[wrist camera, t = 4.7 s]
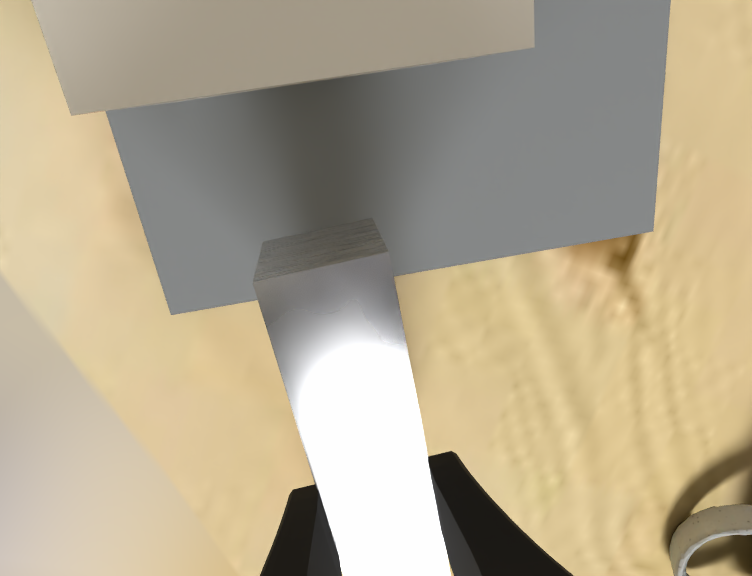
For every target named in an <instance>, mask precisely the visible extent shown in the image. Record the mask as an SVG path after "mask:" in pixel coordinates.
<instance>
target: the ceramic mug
mask: <svg viewBox="0 0 752 576" xmlns="http://www.w3.org/2000/svg"><path fill="white" fill-rule="evenodd" d="M730 535H752V505H747V504H735V505H726V506H719V507H715V506H714V507H710V508H707V509H704V510H701V511H699V512H697V513H695V514H692V515H691V516H690V517H688V518H687V519H686V520H685V521H684V522H683V523H682V524H680V525H679V526H678V527H677V529H676V531H675V532H674V534H673V536H672V540H671V544H670V550H669V552H670V560H671V564H672V569H673V573H674V576H689V575H688V574H687V573H686V566H687V561H688V560H689V558H690V556H691V555H692V554H693V553H694V551H695V550H696V549H698V548H699V547H700V546H701V545H702V544H704V543H706V542H707V541H710V540H712V539H714V538H718V537H722V536H730Z"/></svg>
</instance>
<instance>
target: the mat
mask: <svg viewBox="0 0 752 576" xmlns="http://www.w3.org/2000/svg"><path fill="white" fill-rule="evenodd" d="M670 2H671V0H534V40H535V47H534V48H528V49H522V50H516V51H510V52H504V53H498V54H492V55H486V56H480V57H474V58H468V59H461V60H455V61H449V62H443V63H437V64H431V65H424V66H417V67H411V68H404V69H397V70H390V71H383V72H377V73H370V74H363V75H356V76H349V77H343V78H336V79H329V80H322V81H316V82H309V83H302V84H295V85H288V86H282V87H275V88H268V89H261V90H254V91H248V92H241V93H234V94H227V95H221V96H214V97H207V98H200V99H193V100H187V101H180V102H172V103H164V104H157V105H149V106H141V107H133V108H126V109H118V110H110V111H106V114H107V117H108V120H109V123H110V127H111V130H112V133H113V136H114V139H115V142H116V145H117V148H118V151H119V154H120V158H121V161H122V164H123V167H124V170H125V173H126V176H127V179H128V182H129V186H130V189H131V192H132V195H133V198H134V201H135V204H136V207H137V210H138V214H139V217H140V220H141V223H142V226H143V229H144V232H145V235H146V238H147V242H148V245H149V248H150V251H151V254H152V257H153V260H154V263H155V266H156V270H157V273H158V276H159V279H160V282H161V285H162V288H163V291H164V294H165V297H166V301H167V304H168V307H169V310H170V313H171V315H174V314H180V313H186V312H192V311H197V310H203V309H209V308H215V307H220V306H226V305H232V304H238V303H243V302H249V301H255V300H258V299H257V296H256V293H255V289H254V286H253V283H252V282H253V278H254V274H255V270H256V267H257V263H258V259H259V255H260V251H261V247H262V243H263V241H268V240H272V239H277V238H281V237H286V236H290V235H295V234H299V233H304V232H308V231H313V230H317V229H322V228H326V227H331V226H335V225H340V224H344V223H349V222H353V221H358V220H362V219H367V218H371V217H372V218H373V220H374V222H375V224H376V226H377V228H378V230H379V233H380V235H381V237H382V239H383V241H384V243H385V245H386V247H387V249H388V251H389V255H390V260H391V265H392V270H393V276H399V275H405V274H410V273H416V272H422V271H428V270H433V269H439V268H445V267H451V266H456V265H462V264H468V263H474V262H479V261H485V260H491V259H497V258H502V257H508V256H514V255H520V254H525V253H531V252H537V251H543V250H548V249H554V248H560V247H566V246H571V245H577V244H583V243H589V242H594V241H600V240H606V239H612V238H617V237H623V236H629V235H635V234H641V233H646V232H652V231H653V228H654V215H655V202H656V188H657V175H658V162H659V148H660V135H661V122H662V108H663V95H664V82H665V68H666V55H667V42H668V28H669V15H670Z"/></svg>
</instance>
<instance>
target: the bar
mask: <svg viewBox="0 0 752 576" xmlns="http://www.w3.org/2000/svg"><path fill="white" fill-rule="evenodd" d="M252 283H253V286H254V289H255V293H256V296H257V299H258V302H259V305H260V309H261V312H262V315H263V318H264V321H265V325H266V328H267V331H268V334H269V337H270V341H271V344H272V347H273V350H274V353H275V357H276V360H277V363H278V366H279V369H280V373H281V376H282V379H283V382H284V385H285V389H286V392H287V395H288V398H289V401H290V405H291V408H292V411H293V414H294V417H295V421H296V424H297V427H298V430H299V434H300V437H301V440H302V443H303V446H304V450H305V453H306V456H307V459H308V462H309V466H310V469H311V472H312V475H313V478H314V482H315V485H316V488H317V490H319V493H320V496H321V499H322V503H323V506H324V509H325V512H326V516H327V519H328V522H329V525H330V528H331V532H332V535H333V538H334V541H335V545H336V548H337V551H338V554H339V557H340V564H341V568H342V571H343V575H344V576H451V575H450V570H449V564H448V559H447V554H446V549H445V544H444V541H443V537H442V533H441V528H440V523H439V518H438V513H437V507H436V502H435V497H434V492H433V487H432V481H431V476H430V471H429V466H428V463H429V459H428V454H427V449H426V444H425V438H424V433H423V428H422V423H421V417H420V412H419V407H418V402H417V396H416V391H415V386H414V381H413V375H412V370H411V365H410V360H409V354H408V349H407V344H406V339H405V333H404V328H403V323H402V318H401V312H400V307H399V302H398V297H397V291H396V286H395V281H394V276H393V270H392V265H391V260H390V255H389V251H388V249H387V247H386V245H385V243H384V241H383V239H382V237H381V235H380V233H379V230H378V228H377V226H376V224H375V222H374V220H373V218H372V217H371V218H367V219H362V220H358V221H353V222H349V223H344V224H340V225H335V226H331V227H326V228H322V229H317V230H313V231H308V232H304V233H299V234H295V235H290V236H286V237H281V238H277V239H272V240H268V241H263V243H262V247H261V251H260V255H259V259H258V263H257V267H256V270H255V274H254V278H253V282H252Z"/></svg>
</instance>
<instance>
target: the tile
mask: <svg viewBox="0 0 752 576" xmlns="http://www.w3.org/2000/svg"><path fill="white" fill-rule="evenodd" d="M31 1H32V4H33V7H34V10H35V13H36V15H37V18H38V21H39V24H40V27H41V30H42V33H43V36H44V38H45V41H46V44H47V47H48V50H49V53H50V56H51V59H52V62H53V64H54V67H55V70H56V73H57V76H58V79H59V82H60V85H61V87H62V90H63V93H64V96H65V99H66V102H67V105H68V108H69V110H70V113H71V116H72V115H80V114H87V113H95V112H103V111H110V110H118V109H126V108H133V107H141V106H149V105H157V104H164V103H172V102H180V101H187V100H193V99H200V98H207V97H214V96H221V95H227V94H234V93H241V92H248V91H254V90H261V89H268V88H275V87H282V86H288V85H295V84H302V83H309V82H316V81H322V80H329V79H336V78H343V77H349V76H356V75H363V74H370V73H377V72H383V71H390V70H397V69H404V68H411V67H417V66H424V65H431V64H437V63H443V62H449V61H455V60H461V59H468V58H474V57H480V56H486V55H492V54H498V53H504V52H510V51H516V50H522V49H528V48H534V47H535V40H534V0H31Z"/></svg>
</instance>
